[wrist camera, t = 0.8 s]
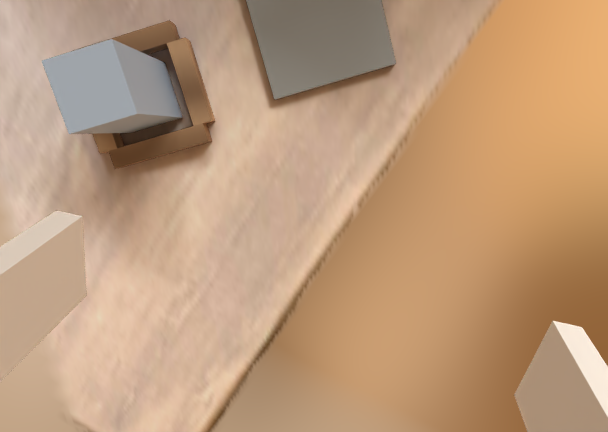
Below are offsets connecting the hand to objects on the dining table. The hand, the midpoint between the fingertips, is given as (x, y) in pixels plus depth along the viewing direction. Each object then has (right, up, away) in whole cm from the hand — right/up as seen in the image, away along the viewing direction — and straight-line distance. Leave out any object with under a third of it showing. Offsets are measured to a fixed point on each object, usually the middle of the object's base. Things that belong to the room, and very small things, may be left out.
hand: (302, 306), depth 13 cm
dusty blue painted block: (-13, +12, +24) cm, 30 cm away
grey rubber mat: (+1, +18, +23) cm, 29 cm away
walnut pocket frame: (-13, +12, +24) cm, 30 cm away
